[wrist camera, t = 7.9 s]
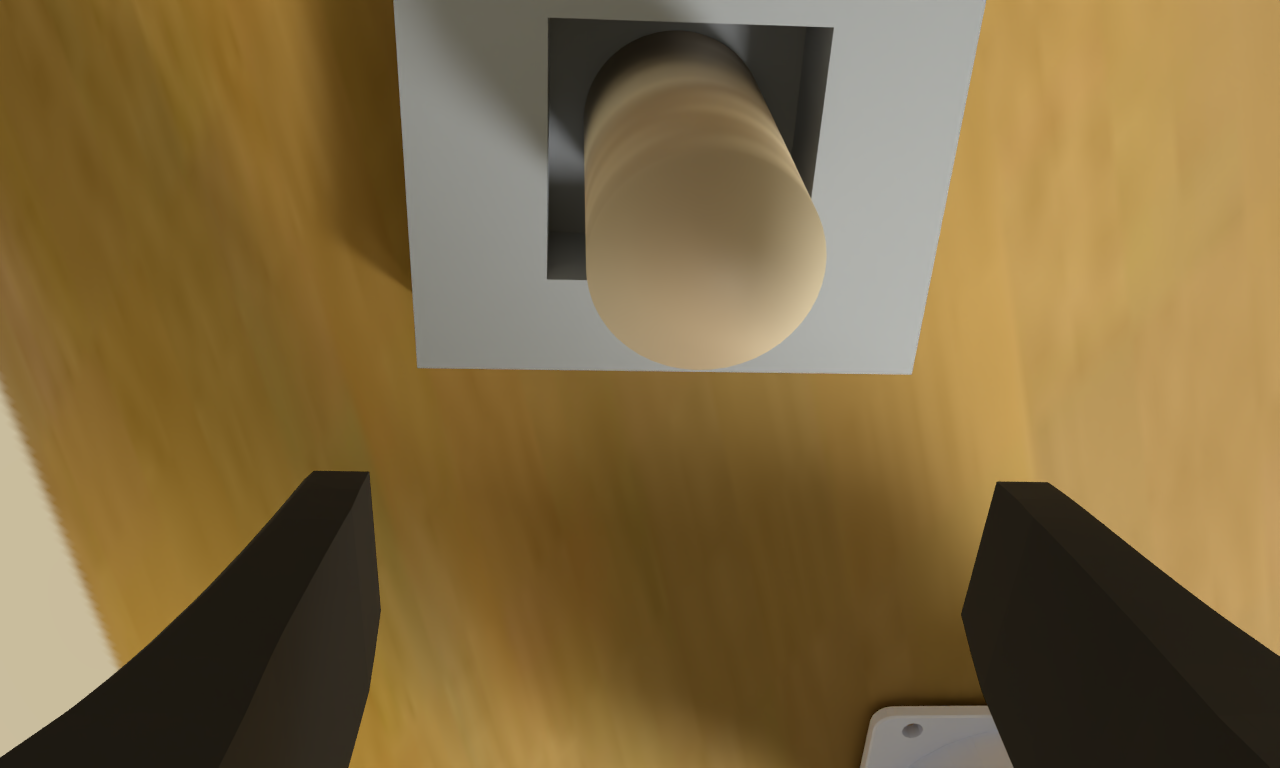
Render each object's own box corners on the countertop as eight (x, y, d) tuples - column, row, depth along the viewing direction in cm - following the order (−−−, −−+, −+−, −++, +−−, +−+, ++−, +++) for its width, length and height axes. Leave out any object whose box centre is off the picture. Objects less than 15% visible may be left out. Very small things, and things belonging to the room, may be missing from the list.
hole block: (956, -116, 19) (1004, -92, 17) (881, 313, 23) (911, 374, 21) (406, -139, 18) (385, -119, 16) (431, 306, 22) (417, 368, 20)
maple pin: (772, 34, 19) (843, 155, 14) (752, 209, 21) (809, 372, 16) (587, 26, 19) (590, 145, 14) (580, 202, 21) (581, 366, 16)
